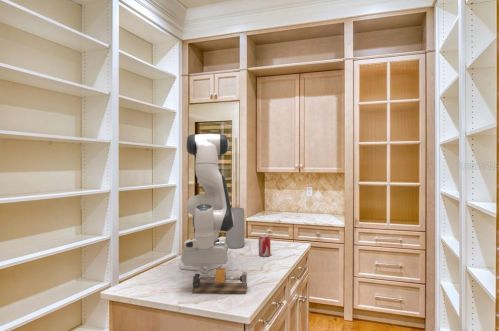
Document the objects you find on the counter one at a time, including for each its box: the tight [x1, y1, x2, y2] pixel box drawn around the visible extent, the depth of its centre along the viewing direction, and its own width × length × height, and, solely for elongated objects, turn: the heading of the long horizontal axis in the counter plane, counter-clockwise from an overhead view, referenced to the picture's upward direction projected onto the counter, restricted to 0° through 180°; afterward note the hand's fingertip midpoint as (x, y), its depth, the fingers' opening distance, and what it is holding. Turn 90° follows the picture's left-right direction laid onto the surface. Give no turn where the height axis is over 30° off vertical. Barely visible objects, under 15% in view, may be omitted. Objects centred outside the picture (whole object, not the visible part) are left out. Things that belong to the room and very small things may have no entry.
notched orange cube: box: [214, 267, 227, 283], centre depth 144 cm, size 4×4×5 cm
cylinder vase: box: [224, 206, 245, 249], centre depth 218 cm, size 12×12×25 cm
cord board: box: [191, 271, 248, 295], centre depth 144 cm, size 23×9×8 cm, turn 86°
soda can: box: [258, 234, 271, 258], centre depth 196 cm, size 7×7×12 cm
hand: (204, 273), depth 145 cm, fingers closed
